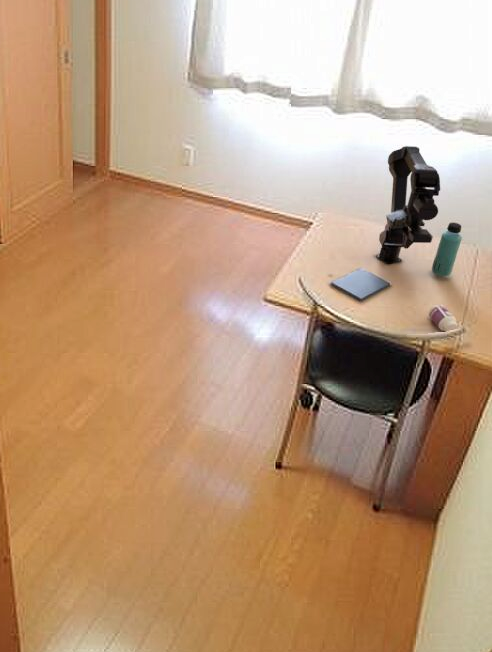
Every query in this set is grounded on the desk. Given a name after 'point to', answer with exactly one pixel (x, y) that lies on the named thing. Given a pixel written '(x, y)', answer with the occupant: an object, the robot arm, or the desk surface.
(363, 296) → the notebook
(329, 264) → the desk surface
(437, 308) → the pill bottle
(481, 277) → the desk surface
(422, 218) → the robot arm
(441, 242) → the beverage bottle
